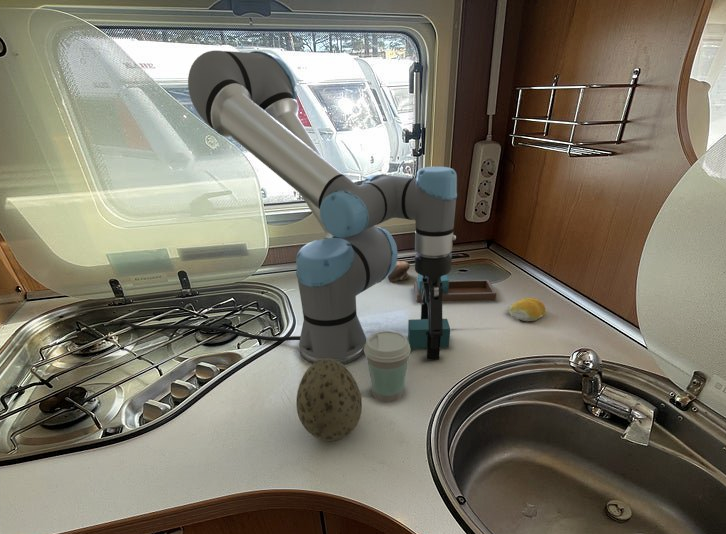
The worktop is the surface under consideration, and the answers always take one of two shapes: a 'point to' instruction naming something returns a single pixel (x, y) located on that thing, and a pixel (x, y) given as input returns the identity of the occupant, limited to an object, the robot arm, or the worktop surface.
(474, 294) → the brown shallow rectangular tray
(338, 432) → the decorative egg
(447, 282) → the turquoise block
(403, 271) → the mushroom
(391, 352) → the coffee cup
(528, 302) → the bread roll
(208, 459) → the worktop surface
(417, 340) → the teal rectangular block
